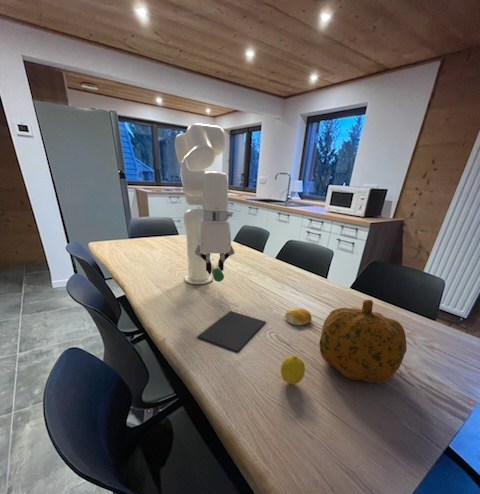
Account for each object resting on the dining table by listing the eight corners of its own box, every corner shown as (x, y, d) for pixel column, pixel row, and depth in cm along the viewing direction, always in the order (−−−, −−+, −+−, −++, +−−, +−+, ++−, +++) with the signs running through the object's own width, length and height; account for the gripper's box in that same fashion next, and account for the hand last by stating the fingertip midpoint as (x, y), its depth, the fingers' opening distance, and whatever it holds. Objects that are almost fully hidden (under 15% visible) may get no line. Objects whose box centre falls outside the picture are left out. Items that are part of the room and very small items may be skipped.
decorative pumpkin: (357, 405, 58) (379, 322, 51) (300, 356, 76) (311, 290, 69) (417, 385, 66) (443, 311, 59) (352, 345, 84) (366, 285, 77)
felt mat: (230, 312, 96) (230, 310, 96) (265, 322, 91) (265, 321, 91) (197, 337, 80) (197, 336, 80) (237, 352, 75) (237, 350, 75)
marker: (207, 266, 95) (207, 258, 94) (216, 266, 96) (216, 258, 95) (213, 282, 82) (213, 272, 81) (223, 281, 83) (224, 271, 81)
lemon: (277, 375, 67) (280, 349, 63) (298, 375, 67) (303, 349, 64) (282, 391, 62) (286, 364, 58) (304, 391, 62) (310, 364, 59)
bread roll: (315, 321, 93) (317, 311, 91) (296, 328, 88) (298, 317, 87) (298, 312, 99) (300, 302, 97) (280, 317, 95) (281, 307, 93)
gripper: (238, 215, 87) (235, 268, 95) (187, 214, 83) (189, 270, 91) (243, 218, 80) (240, 275, 88) (189, 217, 76) (191, 277, 84)
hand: (214, 272), depth 89 cm, fingers closed on marker, 3 cm apart
